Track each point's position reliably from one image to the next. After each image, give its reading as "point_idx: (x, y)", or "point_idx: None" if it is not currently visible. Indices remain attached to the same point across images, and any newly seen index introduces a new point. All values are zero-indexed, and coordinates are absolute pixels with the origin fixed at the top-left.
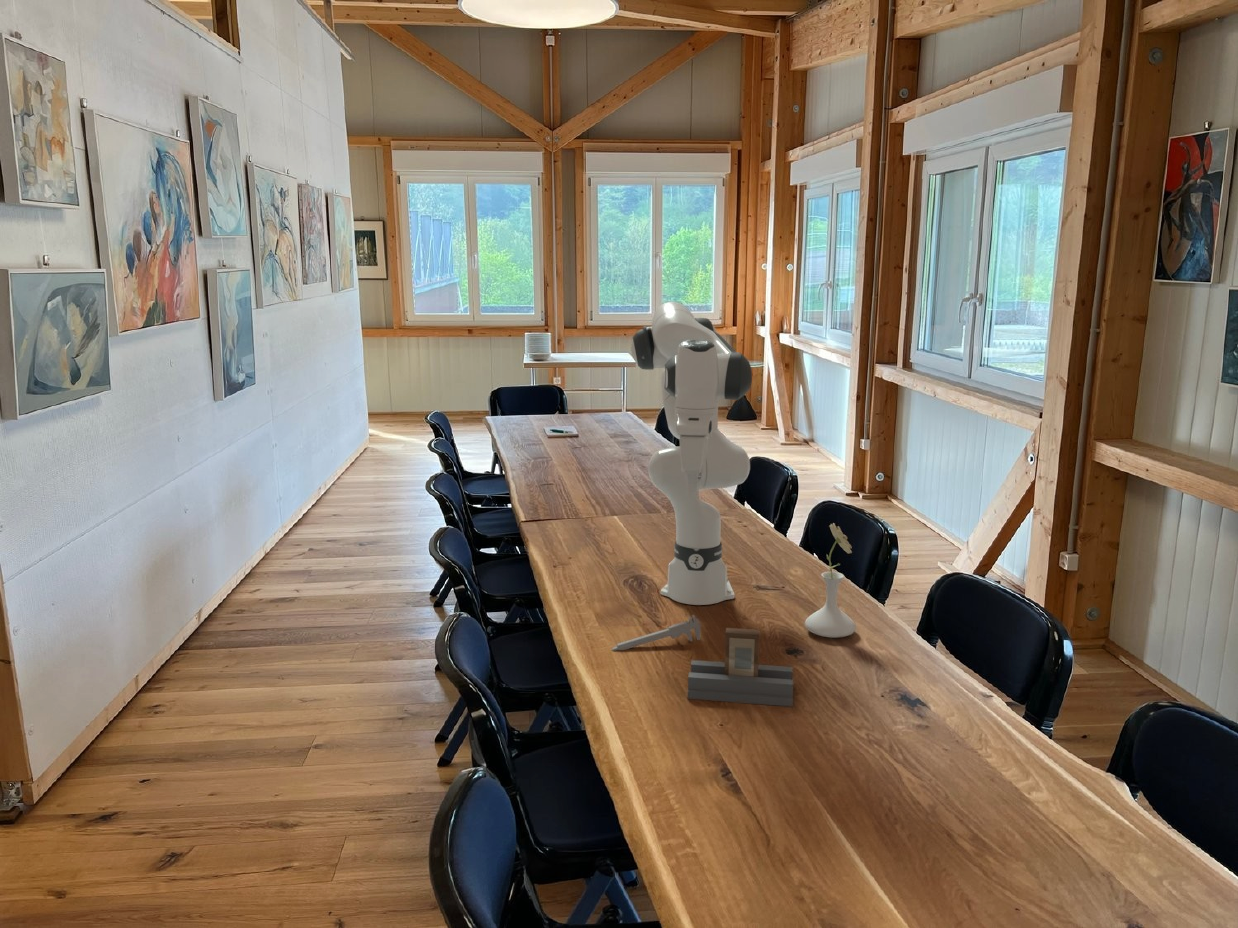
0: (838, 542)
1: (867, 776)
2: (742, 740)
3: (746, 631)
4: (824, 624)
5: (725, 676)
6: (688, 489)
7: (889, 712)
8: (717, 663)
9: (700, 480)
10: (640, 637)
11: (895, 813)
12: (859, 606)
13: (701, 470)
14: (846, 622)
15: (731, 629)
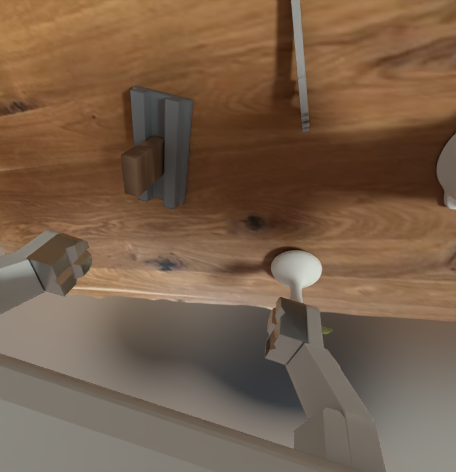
0: None
1: (62, 206)
2: (74, 132)
3: (131, 181)
4: (280, 265)
5: (141, 138)
6: (44, 232)
7: (148, 248)
8: (172, 135)
9: (268, 321)
10: (297, 14)
11: (31, 206)
12: (353, 305)
13: (292, 379)
14: (279, 281)
15: (132, 164)
